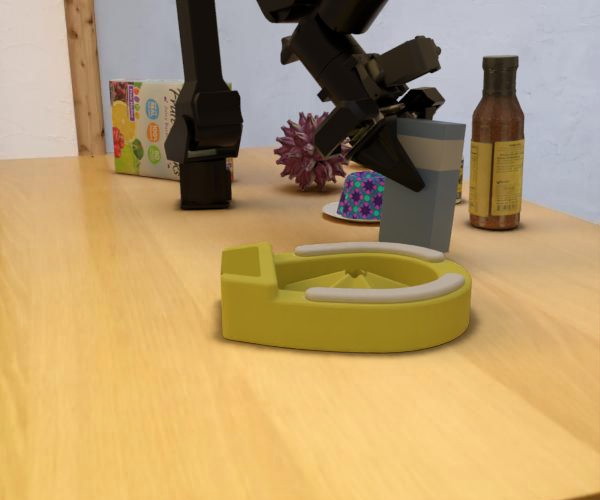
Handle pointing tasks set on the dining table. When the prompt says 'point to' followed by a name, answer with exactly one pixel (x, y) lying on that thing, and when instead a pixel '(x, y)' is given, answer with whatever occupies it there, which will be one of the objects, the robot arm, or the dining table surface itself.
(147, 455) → the dining table surface
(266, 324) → the yellow curved tray
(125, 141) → the snack box
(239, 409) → the dining table surface
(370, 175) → the pudding
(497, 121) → the sauce bottle
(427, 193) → the block
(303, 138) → the flower
